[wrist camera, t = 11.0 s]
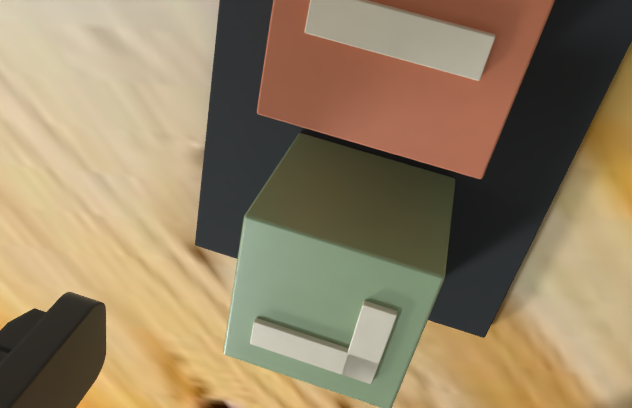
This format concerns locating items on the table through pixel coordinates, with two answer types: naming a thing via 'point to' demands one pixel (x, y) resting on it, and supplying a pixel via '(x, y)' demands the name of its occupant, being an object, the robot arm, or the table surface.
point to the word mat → (469, 194)
